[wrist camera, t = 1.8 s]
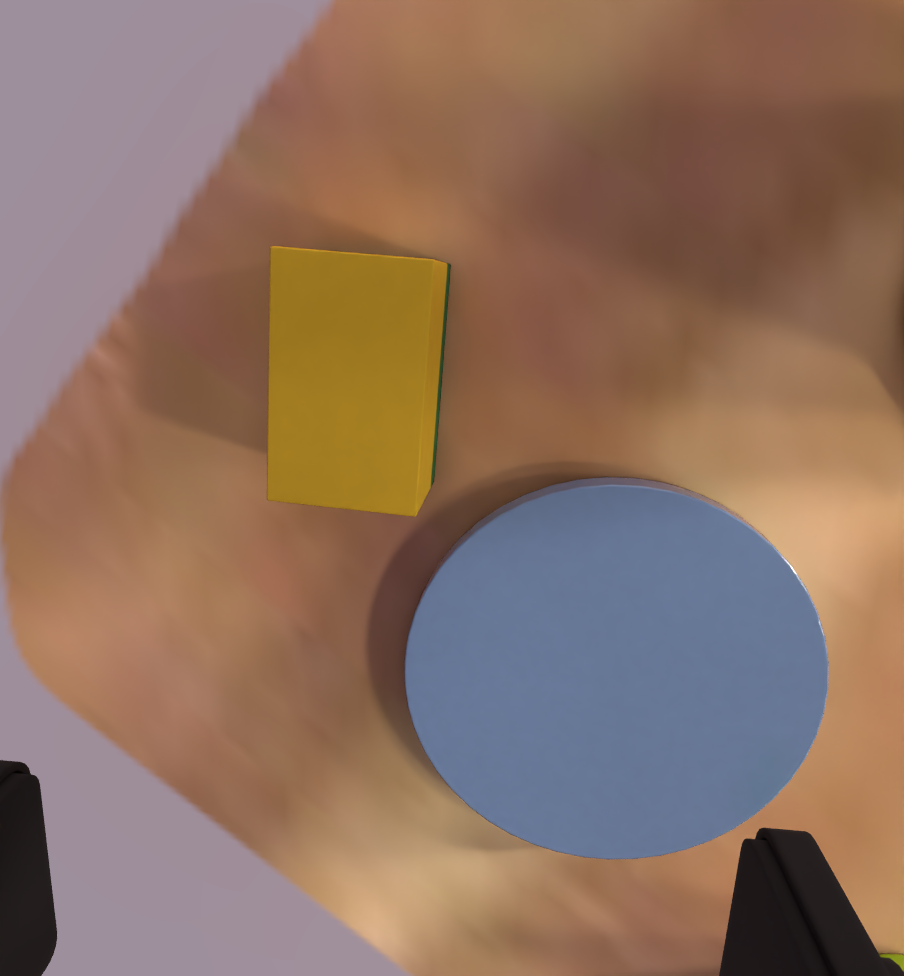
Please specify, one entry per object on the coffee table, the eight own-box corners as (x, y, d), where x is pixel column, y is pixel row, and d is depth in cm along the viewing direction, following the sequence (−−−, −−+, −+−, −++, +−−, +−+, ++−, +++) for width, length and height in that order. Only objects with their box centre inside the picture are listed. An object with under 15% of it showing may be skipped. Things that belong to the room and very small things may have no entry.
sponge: (312, 252, 26) (269, 245, 22) (450, 263, 26) (434, 259, 22) (306, 468, 28) (266, 500, 24) (433, 482, 28) (416, 517, 24)
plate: (422, 455, 28) (418, 462, 27) (860, 501, 27) (875, 510, 25) (397, 810, 32) (392, 830, 31) (772, 864, 31) (781, 886, 30)
